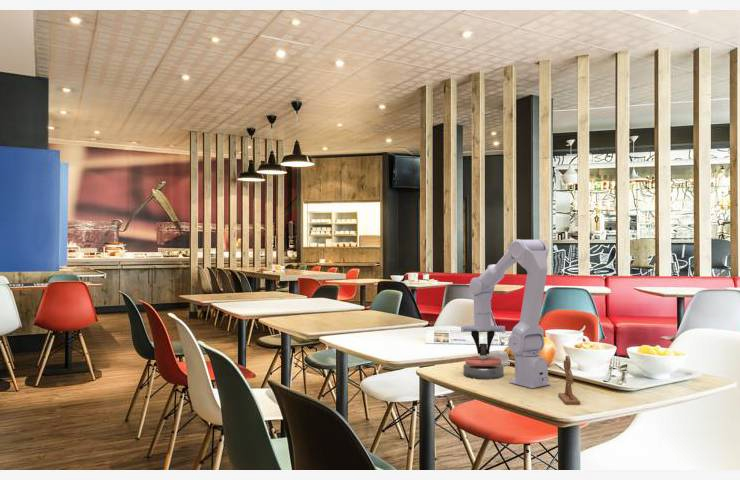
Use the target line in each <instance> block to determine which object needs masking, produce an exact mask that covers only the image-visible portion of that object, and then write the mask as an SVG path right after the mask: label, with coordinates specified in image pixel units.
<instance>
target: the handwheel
mask: <svg viewBox="0 0 740 480" xmlns="http://www.w3.org/2000/svg"><path fill="white" fill-rule="evenodd" d="M479 345H480V354H478V356H470V357H466V358H465V360H464V361H465V364H469V365H474V366H496V365H500V364H501V359H499V358H495V357H488V354H487V343H479Z"/></svg>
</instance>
